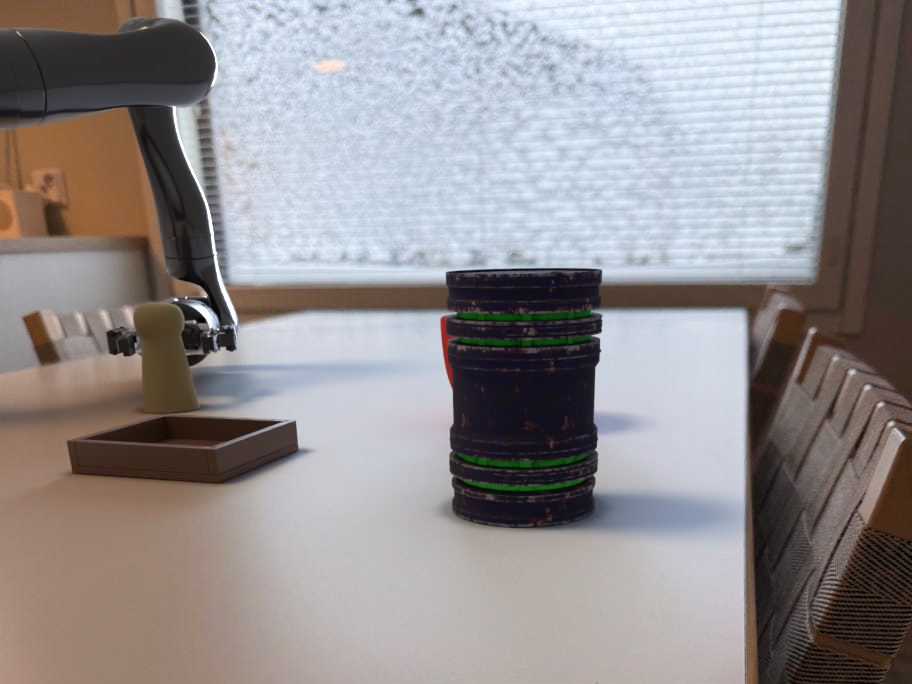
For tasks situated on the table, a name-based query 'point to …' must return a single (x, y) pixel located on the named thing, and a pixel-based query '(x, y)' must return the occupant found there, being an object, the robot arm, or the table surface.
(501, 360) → the storage jar
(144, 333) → the olive green pepper mill
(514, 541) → the table surface
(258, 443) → the serving tray
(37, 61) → the robot arm
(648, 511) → the table surface
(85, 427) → the table surface
